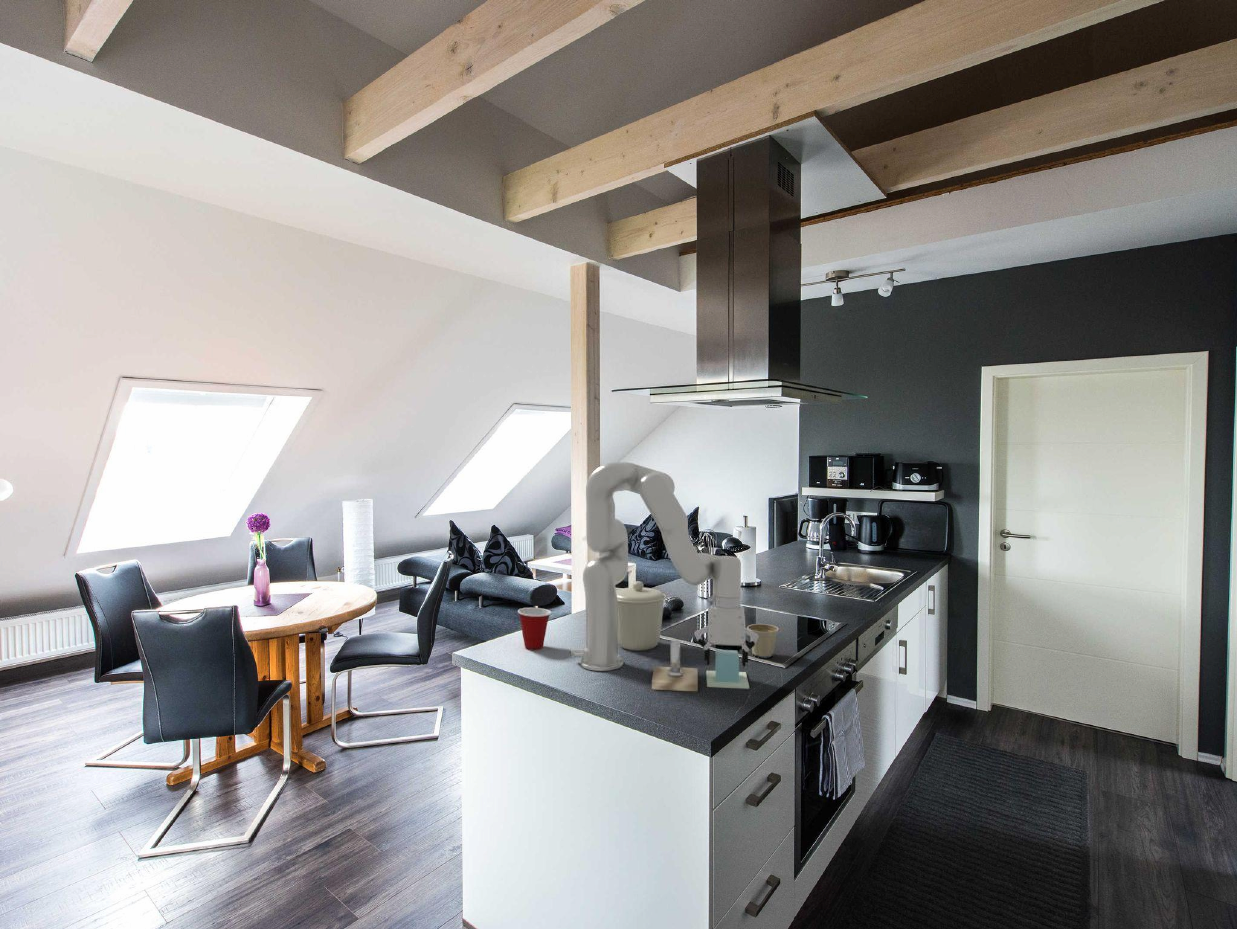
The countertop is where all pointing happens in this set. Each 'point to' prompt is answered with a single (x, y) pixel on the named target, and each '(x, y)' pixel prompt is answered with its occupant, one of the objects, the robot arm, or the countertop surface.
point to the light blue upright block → (727, 666)
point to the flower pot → (764, 639)
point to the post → (675, 660)
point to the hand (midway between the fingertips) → (725, 664)
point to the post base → (675, 679)
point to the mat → (712, 682)
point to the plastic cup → (534, 626)
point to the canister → (639, 617)
